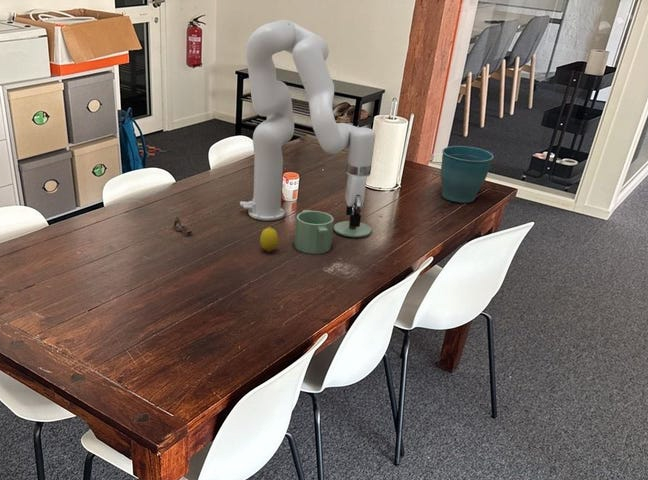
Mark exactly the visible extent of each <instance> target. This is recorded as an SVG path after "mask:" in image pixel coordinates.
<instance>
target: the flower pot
mask: <svg viewBox="0 0 648 480" xmlns="http://www.w3.org/2000/svg"><path fill="white" fill-rule="evenodd" d="M494 158H495V157H494V155H493V153H492V152H490V151H488V150H485V149H483V148H478V147H473V146H466V145H451V146H447V147H444V148H443V149H442V155H441V165H440V166H441V167H440V181H441V188H442V193H441V196H442V198H443V199H445V200H446V201H449V202H453V203H460V204H469V203H472V202H474V201H475V200H476V197H477V195H478V193H479V191H480V190H481V188H482V186H483V185H484V183H485V181H486V179H487V177H488V173H489V170H490V167H491V166H492V162H493V159H494Z"/></svg>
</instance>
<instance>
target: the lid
mask: <svg viewBox="0 0 648 480" xmlns="http://www.w3.org/2000/svg"><path fill="white" fill-rule="evenodd" d="M351 214H352V212H351V213H350V215H349V219H350V218H351ZM333 231H334V232H335V233H336V234H338V235H340V236H344V237H347V238H348V237H349V238H363V237H366V236H369V235H370V234H371V233H372V228H371V226H370V225H368V224H367V223H364V222H361V221H360V226H359V227H351V226H350V220H344V221H343V220H342V221H339V222H337V223H335V224H333Z"/></svg>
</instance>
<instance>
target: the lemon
mask: <svg viewBox="0 0 648 480" xmlns="http://www.w3.org/2000/svg"><path fill="white" fill-rule="evenodd" d="M259 242H260V246H261V248H262V249H263V250H265V251H266V252H268V253H269V252H271V251H273V250H275V249H276V248H277V247H278V243H279V234H278V232H277V230H275V229H274V228H273V227H271V226H268V227H265V228H264V229H263V230H262V231H261V233H260V237H259Z"/></svg>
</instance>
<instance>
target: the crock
mask: <svg viewBox="0 0 648 480" xmlns="http://www.w3.org/2000/svg"><path fill="white" fill-rule="evenodd" d="M334 218H335V217H334V216H332V214H329V213H327V212H324V211H318V210H310V209H303V210H302V211H301V212H299V213H298V214H296V217H295V233H294V248H295V249H296V250H298V251H299V252H301V253H305V254H312V255H319V254H324V253H325V254H326V253H327V252H329V251H330V250H331V248H332V240H333V231H334Z"/></svg>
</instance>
